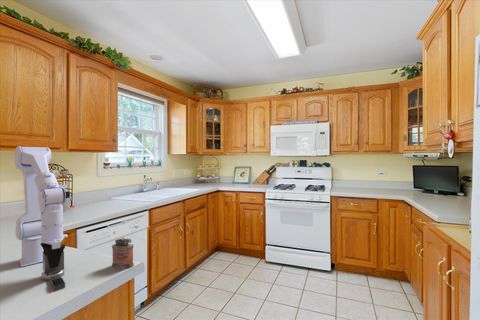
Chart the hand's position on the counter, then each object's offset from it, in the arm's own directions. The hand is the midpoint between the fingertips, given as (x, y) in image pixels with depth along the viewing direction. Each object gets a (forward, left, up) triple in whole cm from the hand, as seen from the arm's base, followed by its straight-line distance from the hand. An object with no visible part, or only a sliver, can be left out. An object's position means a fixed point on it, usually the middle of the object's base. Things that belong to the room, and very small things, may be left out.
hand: (52, 265), depth 80 cm
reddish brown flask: (+9, +19, -4) cm, 21 cm away
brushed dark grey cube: (0, 0, -2) cm, 2 cm away
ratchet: (+4, 0, -4) cm, 6 cm away
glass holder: (-127, +21, -4) cm, 129 cm away
